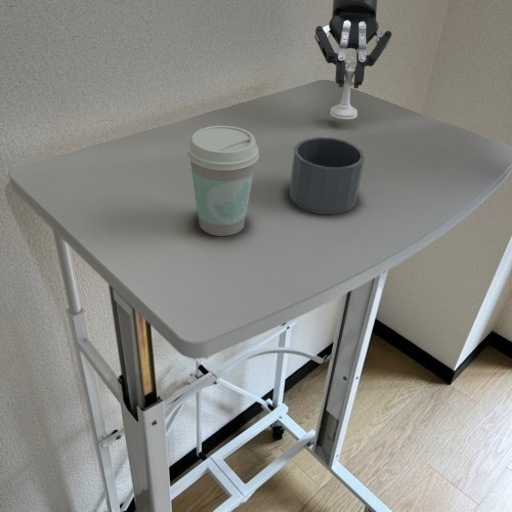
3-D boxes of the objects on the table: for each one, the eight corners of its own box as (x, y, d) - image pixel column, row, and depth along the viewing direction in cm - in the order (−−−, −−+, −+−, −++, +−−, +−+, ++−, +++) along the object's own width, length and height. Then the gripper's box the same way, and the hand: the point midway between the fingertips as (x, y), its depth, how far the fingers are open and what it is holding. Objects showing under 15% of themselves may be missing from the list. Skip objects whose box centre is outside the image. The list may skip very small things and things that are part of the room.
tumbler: (350, 182, 82) (358, 139, 78) (360, 216, 75) (369, 170, 71) (288, 179, 82) (292, 136, 78) (291, 213, 75) (296, 167, 70)
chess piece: (326, 109, 100) (333, 53, 94) (351, 108, 101) (360, 52, 95) (335, 120, 96) (343, 62, 90) (361, 118, 97) (371, 61, 91)
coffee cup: (193, 245, 67) (191, 156, 60) (185, 209, 74) (182, 125, 67) (261, 239, 69) (267, 152, 62) (247, 204, 76) (251, 122, 69)
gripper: (317, -25, 92) (309, 72, 90) (400, -20, 92) (394, 78, 89) (314, 2, 100) (306, 92, 97) (390, 7, 99) (385, 98, 97)
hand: (349, 85), depth 93 cm, fingers closed on chess piece
